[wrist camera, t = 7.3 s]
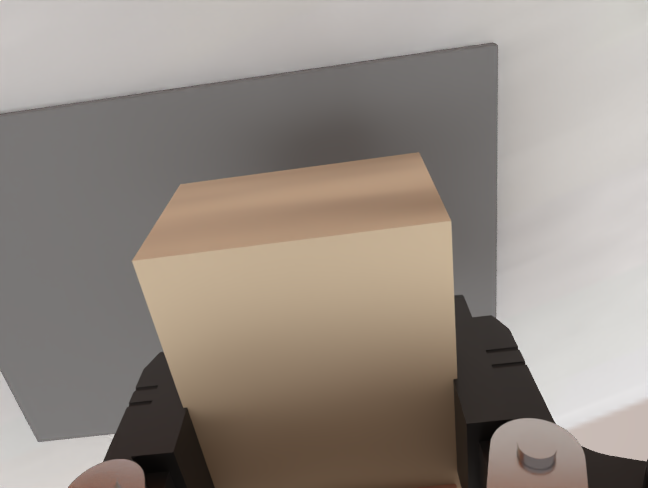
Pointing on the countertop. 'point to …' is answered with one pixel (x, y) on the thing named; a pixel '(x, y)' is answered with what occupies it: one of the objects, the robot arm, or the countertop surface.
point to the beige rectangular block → (311, 324)
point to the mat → (195, 166)
